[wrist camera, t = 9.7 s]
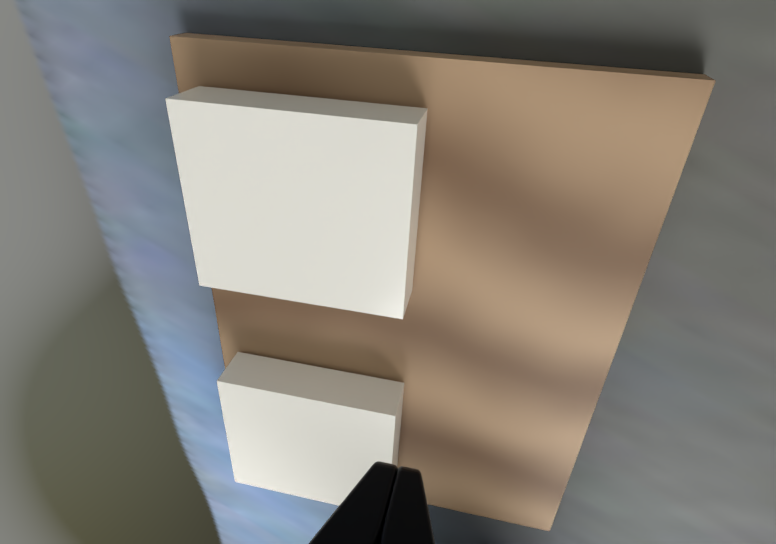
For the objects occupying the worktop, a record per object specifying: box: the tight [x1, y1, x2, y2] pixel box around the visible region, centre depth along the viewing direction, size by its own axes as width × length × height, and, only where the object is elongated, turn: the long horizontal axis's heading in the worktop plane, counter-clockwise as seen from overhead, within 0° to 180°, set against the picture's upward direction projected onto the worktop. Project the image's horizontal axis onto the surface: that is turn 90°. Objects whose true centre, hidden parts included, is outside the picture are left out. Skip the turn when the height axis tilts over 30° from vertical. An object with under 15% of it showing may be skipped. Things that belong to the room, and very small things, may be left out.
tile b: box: [165, 86, 428, 319], centre depth 18 cm, size 7×2×8 cm
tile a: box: [217, 352, 404, 506], centre depth 24 cm, size 7×2×8 cm
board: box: [169, 33, 715, 531], centre depth 22 cm, size 22×17×1 cm
